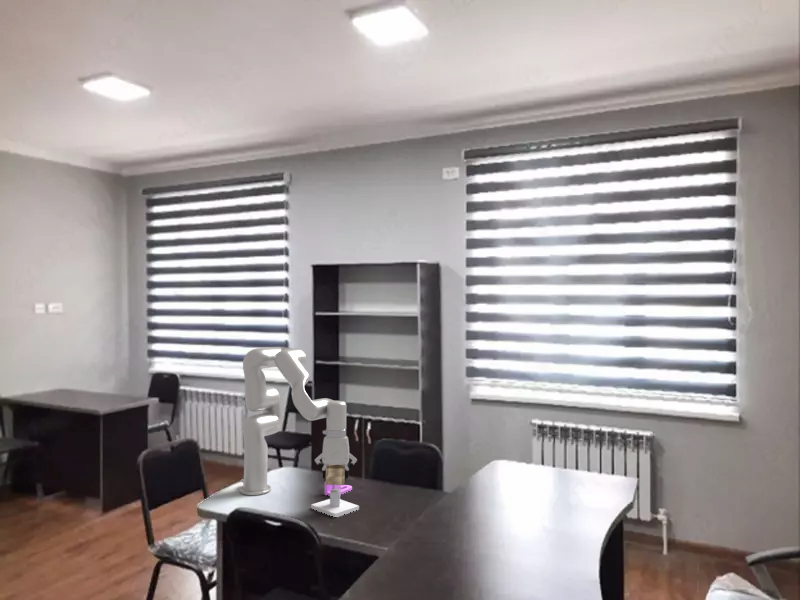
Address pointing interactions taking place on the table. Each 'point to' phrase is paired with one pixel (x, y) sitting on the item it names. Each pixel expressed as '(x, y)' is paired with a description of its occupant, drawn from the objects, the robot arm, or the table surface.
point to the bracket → (342, 488)
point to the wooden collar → (335, 475)
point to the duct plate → (335, 510)
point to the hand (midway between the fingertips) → (335, 479)
